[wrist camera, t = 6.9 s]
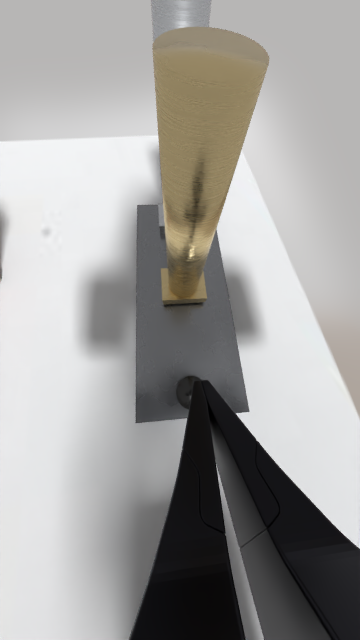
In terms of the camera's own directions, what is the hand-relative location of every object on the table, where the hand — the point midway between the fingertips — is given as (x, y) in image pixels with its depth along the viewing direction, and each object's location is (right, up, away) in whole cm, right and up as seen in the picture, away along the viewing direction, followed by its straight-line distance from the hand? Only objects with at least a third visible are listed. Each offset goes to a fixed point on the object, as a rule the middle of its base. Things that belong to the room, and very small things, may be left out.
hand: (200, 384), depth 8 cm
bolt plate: (-1, +6, +9) cm, 11 cm away
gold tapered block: (-1, +7, +7) cm, 10 cm away
